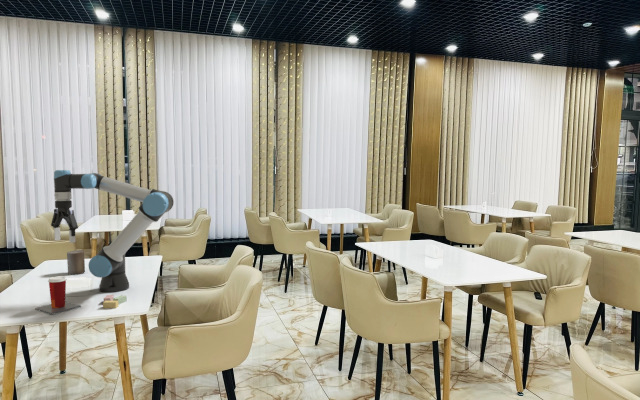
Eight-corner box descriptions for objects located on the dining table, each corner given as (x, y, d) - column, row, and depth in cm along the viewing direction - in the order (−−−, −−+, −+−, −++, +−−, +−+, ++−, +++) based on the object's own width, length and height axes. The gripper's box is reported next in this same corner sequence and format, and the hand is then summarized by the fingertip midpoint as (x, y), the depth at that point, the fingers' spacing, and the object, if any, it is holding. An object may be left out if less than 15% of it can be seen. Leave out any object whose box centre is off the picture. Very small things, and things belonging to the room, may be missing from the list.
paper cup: (70, 304, 228) (69, 275, 227) (62, 308, 220) (61, 279, 219) (54, 304, 228) (53, 275, 227) (45, 309, 220) (44, 279, 219)
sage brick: (121, 301, 237) (121, 295, 236) (126, 301, 236) (126, 295, 236) (113, 304, 231) (113, 298, 231) (118, 305, 230) (118, 299, 230)
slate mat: (64, 302, 234) (64, 300, 233) (81, 306, 226) (81, 305, 226) (35, 309, 222) (35, 308, 222) (51, 314, 214) (51, 313, 214)
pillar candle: (88, 271, 300) (87, 248, 299) (79, 275, 290) (77, 251, 289) (74, 271, 301) (72, 248, 300) (64, 274, 291) (63, 250, 290)
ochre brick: (103, 308, 224) (102, 302, 224) (105, 306, 227) (105, 300, 227) (115, 308, 224) (115, 302, 224) (118, 306, 227) (118, 300, 227)
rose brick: (107, 300, 237) (107, 295, 237) (113, 300, 237) (113, 294, 237) (103, 304, 231) (103, 298, 231) (110, 304, 232) (110, 298, 231)
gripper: (42, 199, 244) (44, 240, 246) (70, 201, 231) (71, 244, 233) (56, 198, 250) (58, 238, 252) (84, 200, 237) (86, 242, 239)
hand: (64, 241), depth 242 cm, fingers open, 13 cm apart
